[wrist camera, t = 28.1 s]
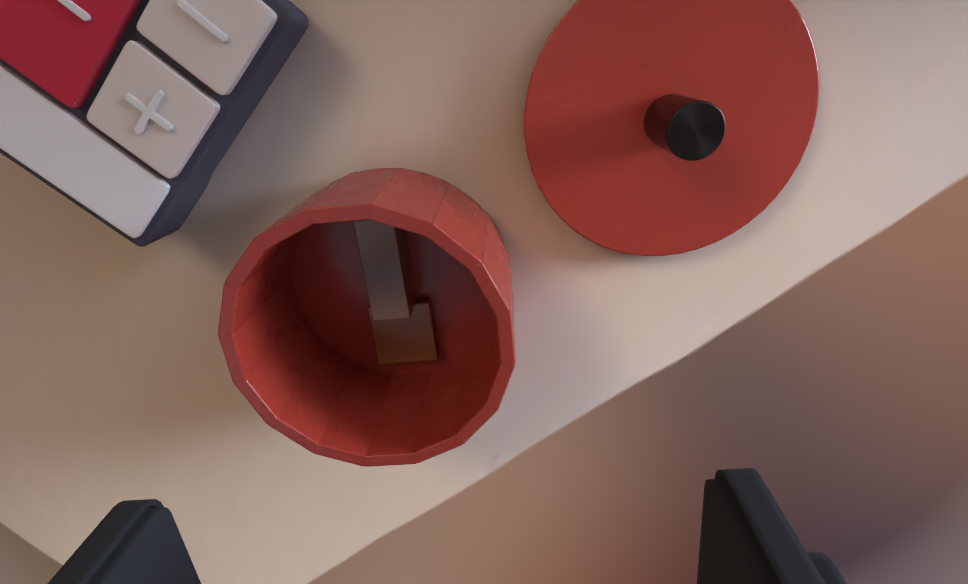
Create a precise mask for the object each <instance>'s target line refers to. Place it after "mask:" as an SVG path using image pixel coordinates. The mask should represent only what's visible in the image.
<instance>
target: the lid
mask: <svg viewBox="0 0 968 584" xmlns="http://www.w3.org/2000/svg"><path fill="white" fill-rule="evenodd" d="M818 95H819V76H818V64H817V59H816V54H815V49H814V45H813V42H812V40H811V37H810V34H809V31H808V29H807V26H806V24H805V23H804V21H803V19H802V17H801V15H800V13H799V12H798V10H797V8H796V7H795V6H794V5H793V3H792V2H791V1H790V0H578V1H577V2H576V3H575V4H574V5H573V6H572V7H571V8H570V10H569V11H568V12H567V13H566V14H565V15H564V16H563V17H562V18H561V20H560V21H559V23H558V24H557V25H556V27H555V28H554V30H553V31H552V33H551V34H550V36H549V37H548V39H547V41H546V43H545V45H544V47H543V48H542V50H541V52H540V54H539V56H538V59H537V61H536V64H535V67H534V69H533V72H532V74H531V78H530V82H529V86H528V90H527V94H526V102H525V110H524V136H525V143H526V151H527V155H528V159H529V162H530V166H531V170H532V172H533V175H534V177H535V180H536V182H537V184H538V187H539V189H540V190H541V192H542V194H543V195H544V197H545V199H546V201H547V202H548V203H549V205H550V206H551V207H552V208H553V210H554V211H555V212H556V214H557V215H558V216H559V217H560V218H561V219H562V220H563V221H564V222H565V223H566V224H567V225H569V226H570V227H571V228H572V229H574V230H575V231H576V232H578V233H579V234H580V235H582V236H583V237H585V238H587V239H589V240H591V241H592V242H594V243H596V244H598V245H601V246H603V247H606V248H609V249H611V250H614V251H618V252H623V253H627V254H633V255H642V256H665V255H672V254H679V253H684V252H688V251H692V250H696V249H699V248H702V247H705V246H707V245H710V244H712V243H715V242H717V241H719V240H721V239H723V238H725V237H727V236H729V235H731V234H732V233H734V232H735V231H737V230H738V229H740V228H741V227H743V226H744V225H746V224H747V223H749V222H750V221H751V220H752V219H754V218H755V217H756V216H757V215H758V214H759V213H761V212H762V211H763V210H764V209H765V208H766V207H767V206H768V205H769V204H770V203H771V202H772V201H773V200H774V199H775V198H776V196H777V195H778V194H779V193H780V191H781V190H782V189H783V187H784V186H785V185H786V183H787V182H788V181H789V179H790V178H791V176H792V174H793V173H794V171H795V169H796V168H797V166H798V164H799V163H800V160H801V158H802V156H803V154H804V152H805V150H806V147H807V145H808V142H809V139H810V136H811V133H812V130H813V127H814V122H815V117H816V112H817V107H818Z"/></svg>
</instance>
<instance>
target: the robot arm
mask: <svg viewBox="0 0 968 584" xmlns="http://www.w3.org/2000/svg"><path fill="white" fill-rule="evenodd" d="M48 584H201V582H200V580H199V578H198V575H197V573H196V570H195V568H194V566H193V563H192V561H191V559H190V556H189V554H188V551H187V549H186V547H185V544H184V542H183V540H182V537H181V535H180V532H179V530H178V528H177V525H176V523H175V521H174V518H173V516H172V513H171V512H170V510H169V509H168V508H166V507H164V506H163V505H162V503H161V502H160V501H158V500H156V499H150V500H130V501H122V502H120V503H118V504H117V505H116V506H114V507H113V508H112V509H111V511H110V512H109V513H108V514H107V515H106V516H105V518H104V519H103V520H102V521H101V522H100V523H99V525H98V526H97V527H96V528H95V529H94V530H93V532H92V533H91V534H90V535H89V536H88V537H87V539H86V540H85V541H84V542H83V543H82V544H81V545H80V547H79V548H78V549H77V550H76V551H75V552H74V554H73V555H72V556H71V557H70V558H69V559H68V561H67V562H66V563H65V564H64V565H63V566H62V568H61V569H60V570H59V571H58V572H57V573H56V575H55V576H54V577H53V578H52V579H51V580H50V582H49V583H48ZM697 584H847V583H846V582H845V580H844V579H843V577H842V576H841V574H840V573H839V571H838V569H837V568H836V567H835V566H834V564H833V563H832V561H831V560H830V559H829V558H828V557H827V556H825V555H824V554H823V553H821V552H806V550H805V549H804V547H803V545H802V544H801V542H800V540H799V539H798V537H797V536H796V534H795V533H794V530H793V529H792V527H791V526H790V524H789V522H788V521H787V519H786V517H785V516H784V514H783V512H782V511H781V509H780V508H779V506H778V504H777V503H776V501H775V499H774V498H773V496H772V494H771V493H770V491H769V489H768V488H767V486H766V485H765V483H764V481H763V479H762V478H761V476H760V475H759V473H758V472H757V471H756V470H755V469H753V468H745V469H726V470H717V472H716V475H715V479H710V480H706V482H705V488H704V500H703V513H702V526H701V539H700V551H699V565H698V577H697Z"/></svg>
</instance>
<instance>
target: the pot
mask: <svg viewBox="0 0 968 584" xmlns="http://www.w3.org/2000/svg"><path fill="white" fill-rule="evenodd" d="M367 219H369V220H373V221H376V222H379V223H383V224H386V225H389V226H393V227H396V228H399V229H403V230H406V232H407V238H408V244H409V250H410V256H411V262H412V269H413V275H414V281H415V287H416V293H417V299H424V298H430V299H431V306H432V312H433V319H434V325H435V332H436V338H437V345H438V351H439V356H438V360H431V361H417V362H403V363H389V364H379V362H378V357H377V352H376V348H375V343H374V338H373V333H372V328H371V323H370V318H369V313H368V306H369V299H368V294H367V289H366V284H365V279H364V274H363V269H362V264H361V259H360V254H359V249H358V244H357V239H356V234H355V229H354V224H353V221H356V220H367ZM218 337H219V340H220V343H221V346H222V349H223V352H224V355H225V358H226V361H227V364H228V368H229V371H230V374H231V377H232V380H233V383H234V384H235V386H236V387H237V388H238V389H239V390H240V392H241V393H242V394H243V395H244V397H245V398H246V399H247V400H248V401H249V403H250V404H251V405H252V406H253V408H254V409H255V410H256V411H257V412H258V414H259V415H260V416H261V417H262V419H263V420H264V421H265V422H266V423H267V424H268V425H269V426H271V427H272V428H274V429H275V430H277V431H279V432H280V433H282V434H283V435H285V436H287V437H288V438H290V439H291V440H293V441H295V442H296V443H298V444H299V445H301V446H303V447H304V448H306V449H307V450H309V451H311V452H314V454H318V455H322V456H326V457H329V458H333V459H337V460H341V461H345V462H349V463H353V464H356V465H360V466H385V465H403V464H416V463H419V462H422V461H424V460H427V459H429V458H431V457H434V456H436V455H439V454H441V453H444V452H446V451H448V450H451V449H453V448H456V447H458V446H461V445H462V444H464V443H465V442H466V441H467V440H468V439H469V438H470V437H471V436H472V435H473V434H474V433H475V432H476V431H477V430H478V429H479V428H480V427H481V426H482V425H483V424H484V423H485V422H486V421H487V420H488V419H489V418H490V417H491V416H492V415H493V414H494V413H495V412H496V411H497V410H498V409H499V406H500V403H501V401H502V398H503V395H504V393H505V390H506V388H507V385H508V382H509V380H510V377H511V374H512V372H513V369H514V367H515V341H514V314H513V292H512V280H511V268H510V256H509V253H508V251H507V249H506V248H505V245H504V243H503V241H502V238H501V236H500V234H499V232H498V230H497V229H496V227H495V226H494V224H493V222H492V221H491V219H490V218H489V216H488V215H487V214H486V213H485V212H484V211H483V210H482V208H481V207H480V206H479V205H478V204H477V203H475V202H474V201H473V200H472V199H471V198H470V197H469V196H468V195H466V194H465V193H463V192H462V191H461V190H459V189H458V188H456V187H455V186H453V185H451V184H449V183H448V182H445V181H443V180H442V179H439V178H436V177H434V176H431V175H428V174H426V173H421V172H417V171H413V170H407V169H403V168H381V169H373V170H366V171H361V172H353V173H350V174H349V175H347V176H345V177H343V178H342V179H340V180H338V181H336V182H334V183H332V184H331V185H329V186H327V187H325V188H324V189H322V190H320V191H318V192H317V193H315V194H313V195H312V196H310V197H309V198H307V199H306V200H305V201H303V202H302V203H301V204H299V205H298V206H297V207H295V208H294V209H293V210H291V211H290V212H288V213H287V214H286V215H284V216H283V217H282V218H280V219H279V220H278V221H276V222H275V223H274V224H272V225H271V226H270V227H268V228H267V229H265V230H264V231H263V232H261V233H260V234H259V235H257V236H256V237H255V238H254V239H253V241H252V242H251V243H250V245H249V246H248V248H247V249H246V251H245V252H244V254H243V255H242V257H241V258H240V260H239V261H238V263H237V264H236V265H235V267H234V268H233V270H232V271H231V273H230V274H229V276H228V277H227V279H226V280H225V283H224V289H223V297H222V305H221V313H220V321H219V329H218Z"/></svg>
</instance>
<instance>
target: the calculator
mask: <svg viewBox="0 0 968 584" xmlns="http://www.w3.org/2000/svg"><path fill="white" fill-rule="evenodd" d="M307 27H308V18H307V16H306V15H305V14H304V13H303V12H302V11H301V10H299V9H298V8H297V7H296V6H295V5H294V4H292V3H291V2H290V1H289V0H0V153H2V154H3V155H5V156H6V157H8V158H9V159H11V160H12V161H14V162H15V163H17V164H18V165H20V166H21V167H22V168H24V169H25V170H27V171H28V172H30V173H31V174H33V175H34V176H36V177H37V178H39V179H40V180H42V181H43V182H44V183H46V184H47V185H49V186H50V187H52V188H53V189H55V190H56V191H58V192H59V193H61V194H62V195H64V196H65V197H67V198H68V199H69V200H71V201H72V202H74V203H75V204H77V205H78V206H80V207H81V208H83V209H84V210H86V211H87V212H89V213H90V214H91V215H93V216H94V217H96V218H97V219H99V220H100V221H102V222H103V223H105V224H106V225H108V226H109V227H111V228H112V229H113V230H115V231H116V232H118V233H119V234H121V235H122V236H124V237H125V238H127V239H128V240H130V241H131V242H133V243H134V244H136V245H138V246H146V245H148V244H150V243H152V242H154V241H156V240H158V239H160V238H162V237H164V236H167V235H169V234H171V233H173V232H175V231H176V230H178V229H179V228H180V226H181V225H182V223H183V222H184V220H185V219H186V217H187V216H188V214H189V213H190V211H191V210H192V208H193V207H194V205H195V204H196V202H197V201H198V199H199V198H200V196H201V195H202V193H203V192H204V190H205V188H206V187H207V184H208V181H209V178H210V176H211V174H212V172H213V171H214V169H215V168H216V166H217V165H218V163H219V162H220V160H221V159H222V157H223V156H224V154H225V153H226V151H227V150H228V148H229V146H230V145H231V143H232V142H233V140H234V139H235V137H236V136H237V134H238V133H239V131H240V130H241V128H242V127H243V125H244V124H245V122H246V121H247V119H248V118H249V116H250V115H251V113H252V111H253V110H254V108H255V107H256V105H257V104H258V102H259V101H260V99H261V98H262V96H263V95H264V93H265V92H266V90H267V89H268V87H269V86H270V84H271V83H272V81H273V80H274V78H275V76H276V75H277V73H278V72H279V70H280V69H281V67H282V66H283V64H284V63H285V61H286V60H287V58H288V57H289V55H290V54H291V52H292V51H293V49H294V48H295V46H296V45H297V43H298V41H299V40H300V38H301V37H302V35H303V34H304V32H305V31H306V29H307Z"/></svg>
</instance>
